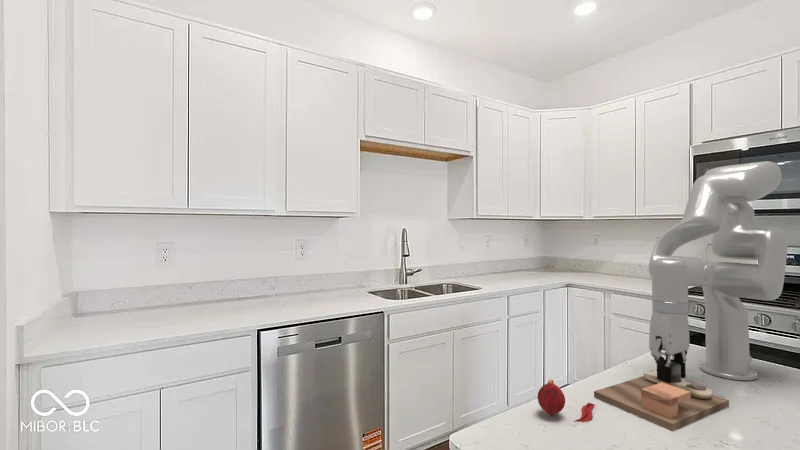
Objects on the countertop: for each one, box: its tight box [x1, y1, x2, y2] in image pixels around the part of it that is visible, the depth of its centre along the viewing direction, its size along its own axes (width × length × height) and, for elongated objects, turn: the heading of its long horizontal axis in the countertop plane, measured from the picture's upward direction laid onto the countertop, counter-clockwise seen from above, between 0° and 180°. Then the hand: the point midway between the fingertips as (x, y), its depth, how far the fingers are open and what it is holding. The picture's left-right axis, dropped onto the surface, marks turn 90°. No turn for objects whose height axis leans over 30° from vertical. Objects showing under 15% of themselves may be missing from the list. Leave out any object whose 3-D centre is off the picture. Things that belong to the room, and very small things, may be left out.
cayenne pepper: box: [573, 402, 596, 423], centre depth 87 cm, size 12×5×2 cm, turn 124°
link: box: [643, 360, 713, 399], centre depth 96 cm, size 14×5×6 cm, turn 27°
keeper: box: [641, 382, 691, 418], centre depth 86 cm, size 8×6×4 cm
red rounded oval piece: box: [537, 378, 566, 417], centre depth 86 cm, size 6×6×8 cm
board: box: [593, 375, 730, 432], centre depth 92 cm, size 23×18×5 cm
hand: (671, 378), depth 97 cm, fingers open, 5 cm apart
